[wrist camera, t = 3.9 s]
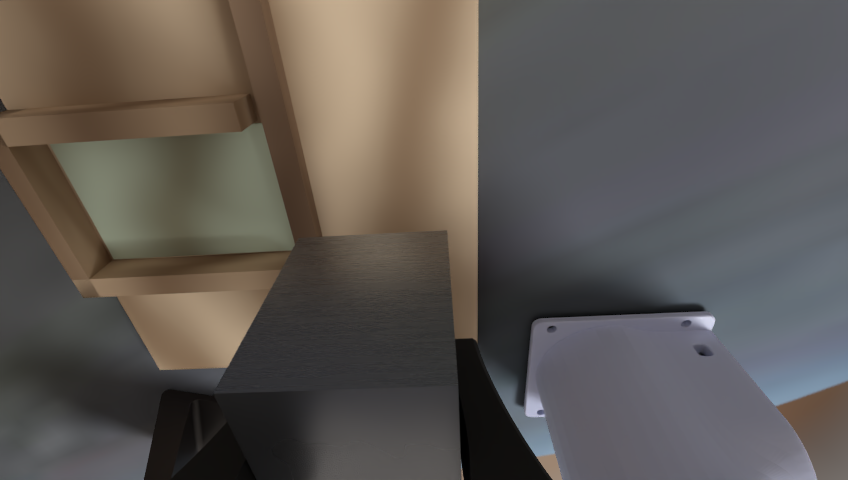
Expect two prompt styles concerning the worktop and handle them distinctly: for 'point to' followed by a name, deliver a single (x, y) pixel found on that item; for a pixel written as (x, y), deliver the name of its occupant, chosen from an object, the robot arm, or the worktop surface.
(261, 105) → the board
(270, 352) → the bar
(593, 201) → the worktop surface
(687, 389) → the robot arm
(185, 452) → the phone stand
